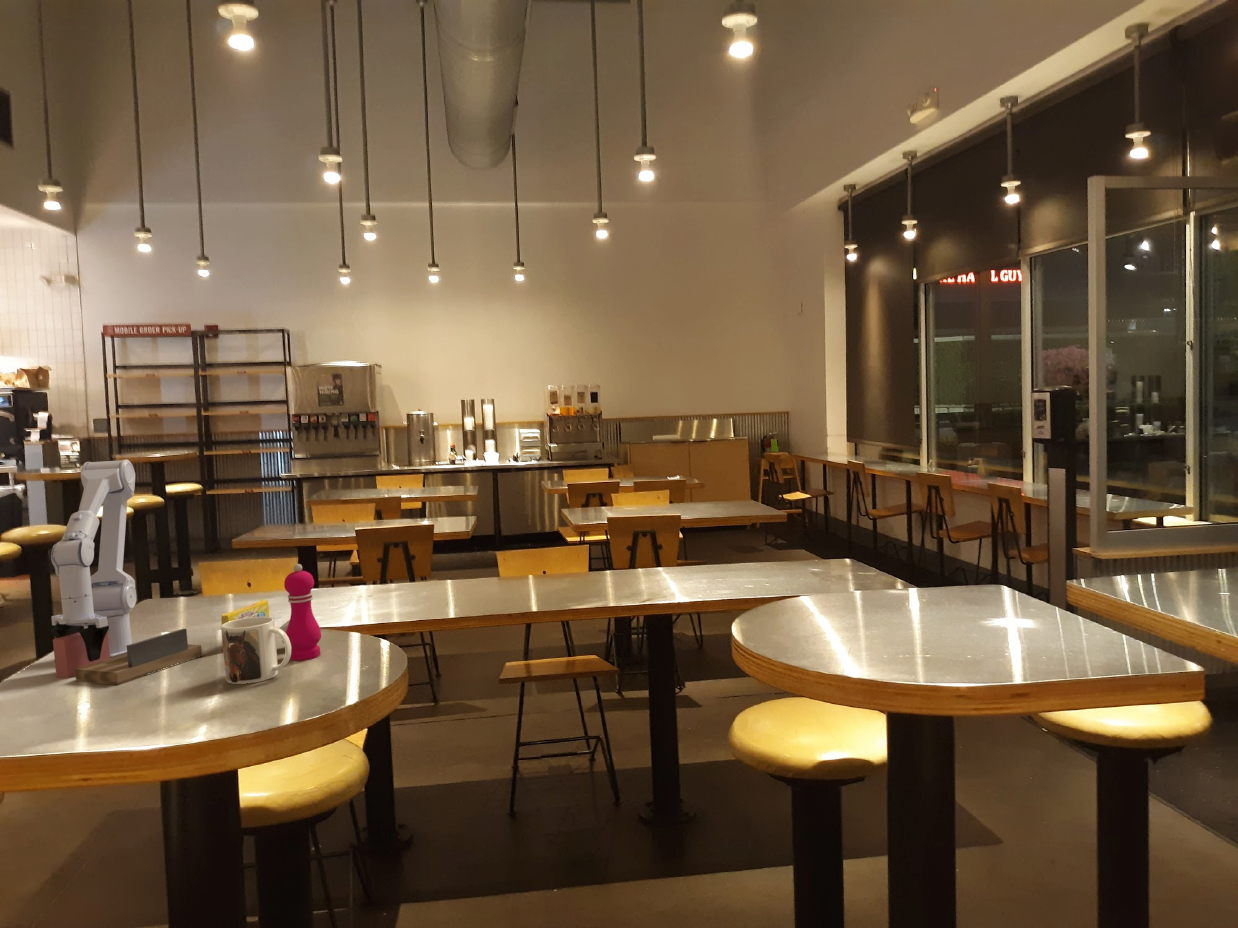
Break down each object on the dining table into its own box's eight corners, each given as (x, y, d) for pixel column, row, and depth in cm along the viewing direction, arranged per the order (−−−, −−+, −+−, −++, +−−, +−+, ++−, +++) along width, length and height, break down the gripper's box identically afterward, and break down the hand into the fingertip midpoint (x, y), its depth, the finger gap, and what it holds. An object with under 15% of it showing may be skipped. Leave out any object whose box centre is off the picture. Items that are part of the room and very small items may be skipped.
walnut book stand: (76, 681, 192) (75, 669, 192) (162, 653, 211) (161, 642, 211) (117, 684, 187) (116, 672, 187) (202, 656, 206) (201, 645, 206)
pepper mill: (329, 652, 203) (322, 560, 202) (308, 661, 196) (300, 567, 195) (302, 651, 205) (294, 560, 204) (280, 660, 198) (272, 567, 197)
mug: (269, 666, 194) (264, 613, 194) (295, 675, 186) (290, 620, 185) (217, 678, 187) (212, 624, 186) (242, 689, 179) (237, 632, 178)
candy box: (230, 651, 209) (227, 615, 209) (222, 652, 210) (218, 615, 209) (271, 633, 225) (268, 599, 225) (263, 633, 226) (260, 599, 225)
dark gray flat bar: (128, 667, 190) (126, 645, 190) (184, 649, 203) (182, 628, 203) (132, 667, 190) (129, 645, 190) (188, 649, 203) (186, 628, 203)
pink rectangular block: (56, 677, 196) (52, 639, 196) (99, 663, 205) (95, 627, 205) (68, 678, 195) (64, 640, 194) (110, 664, 204) (107, 628, 204)
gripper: (35, 599, 198) (42, 662, 199) (83, 601, 193) (89, 666, 193) (66, 592, 205) (72, 653, 206) (113, 593, 199) (119, 656, 200)
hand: (83, 659), depth 200 cm, fingers open, 6 cm apart
